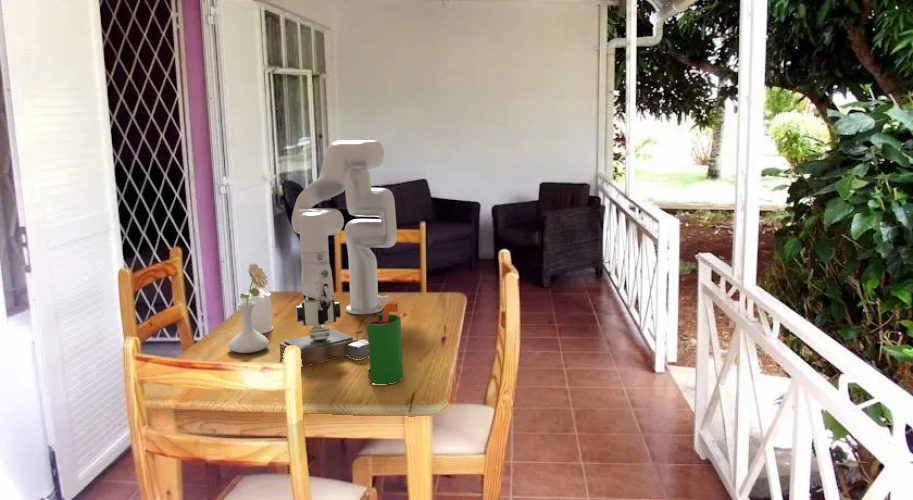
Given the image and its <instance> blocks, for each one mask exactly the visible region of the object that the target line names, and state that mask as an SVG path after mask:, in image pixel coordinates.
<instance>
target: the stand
mask: <svg viewBox="0 0 913 500" xmlns="http://www.w3.org/2000/svg"><path fill="white" fill-rule="evenodd" d="M357 341H359V339H358V338H356V337H353V336H351V335H349V334H347V333H346V334H345V333H344V332H341V331H338V330H336V329H332V330H330V336H329V337H328V339H327V340H318V341H315V340H313V338H310V334H309V335H305V336H301V337H296V338H292V339H287V340H284V341H282V342H279V354H280V355H279V356H280V358H282V356H283V353H284V350H285V348H286V347H287V346H289V345H296V346H299V347H300V349H301V359H302V365H303V367H302V368H305V367H304V366H306V367H308V366H307V365H310V364H313V365H315V364H314V363H317V364H319V363H318V362H321V363H323V362H322V361H325V362H327V361H326V360H329V361H331V360H330V359H333V360H335V359H334V358H337V359H339V358H338V357H341V358H343V357H342V356H345V357H347V356H346V355H348V344H351V343H354V342H357ZM310 366H311V365H310Z"/></svg>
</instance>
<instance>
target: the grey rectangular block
mask: <svg viewBox="0 0 913 500" xmlns="http://www.w3.org/2000/svg"><path fill="white" fill-rule="evenodd" d="M368 344H369V342H368V341H367V339H361V340H358V341H357V342H354V343H351V344H348V356H347V357H348V358H349V357H350V358H354V359H358V360H359V359H362V358H365V357H368V356H369V355H368V350H369V349H368ZM350 358H349V359H350ZM368 358H369V357H368ZM354 359H353V360H354ZM365 359H366V358H365ZM358 360H357V361H358ZM362 360H363V359H362Z"/></svg>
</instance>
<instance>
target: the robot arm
mask: <svg viewBox="0 0 913 500" xmlns="http://www.w3.org/2000/svg"><path fill="white" fill-rule="evenodd" d="M384 157H385V151H384V147H383V144H382V143H381V142H380V141H379V140H376V139H375V140H373V139H372V140H371V139H369V140H368V139H367V140H366V139H364V140H360V139H359V140H358V139H357V140H355V139H353V140H352V139H350V140H349V139H347V140H337V141H336V140H335V141H333V142H331V143H330V144H329V145H328V146H327V148H326V150H325V154H324V158H323V161H322V165H321V169H320V172H319V176H318V177H317V179H316V180H314V181H313V182H311V183H310V184H309V185H308V186H306V187H305V188H304V189H303V190H302V191H301V192H300V194H299V195H298V196H297V198H296V201H295V204H294V207H293V211H292V214H291V215H292V216H291V228H292V230H293V231H294V232H295V233H296V234H298V235H299V243H300V244H299V246H300V259H301V260H300V263H301V274H300V275H301V277H300V278H301V279H300V280H301V291H300V292H301V293H302V295H303V298H304V301H308V300H317V302H318V306H319V310H318V324H320V325H321V324H325V325H326V323H325V321H328V309H330V305H331V302H332V301H333V299H334V282H333V275H332V268H331V264H330V254H329V253H330V250H329V236H335V235H336V234H337V235H338V234H339V233H340V232H341V230H342V229H343V228H344V238H345V241H346V249H347V255H348V257H347V258H348V276H349V277H348V278H349V279H348V280H349V300H350V301H349V302H350V304H348V305H347V306H346V307H345V311H346V312H347V313H349V314H352V315H371V314H372V315H373V314H377V313H380V312H383V310H384V306H383V305H382V304H383V302H390V300H391V297H390V296H389V295H384V296H382V295H379V292H378V287H379V286H378V262H377V261H378V260H377V257H376V255H375V253H374V252H373V251H372V249H371V248H392V247H393V246H394V245H395V244H396V243H397V239H398V238H397V237H398V231H397V230H398V229H397V219H396V218H397V217H396V206H395V205H396V204H395V197H394V194H393V192H392V190H390V189H388V188H385V187H372V185H371V175H370V172H369V170H372V169H377V168H378V167H380V166H381V165H382V163H384ZM344 192H345V202H346V209H347V212H348V214H349V215H351V216H354V217H369V218H356V219H352V220H349V221H348V222H347V223H346V225H345V224H344V223H345V222H344V221H345V220H344V216H343V214H342V212H341V211H340V210H339V209H336V208H330V207H328V208H327V207H326V208H322V207H321V208H320V207H316V208H315V207H314V206H315V205H317V204H318V203H320V202H323V201H325V200H328V199H331V198H334V197H335V196H338V195H340V194H343V193H344ZM370 217H371V218H370ZM372 217H374V219H373V218H372ZM375 217H377V218H375ZM344 225H345V227H344ZM324 300H325V302H323V304H322V302H321V301H324ZM321 326H322V325H321Z"/></svg>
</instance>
